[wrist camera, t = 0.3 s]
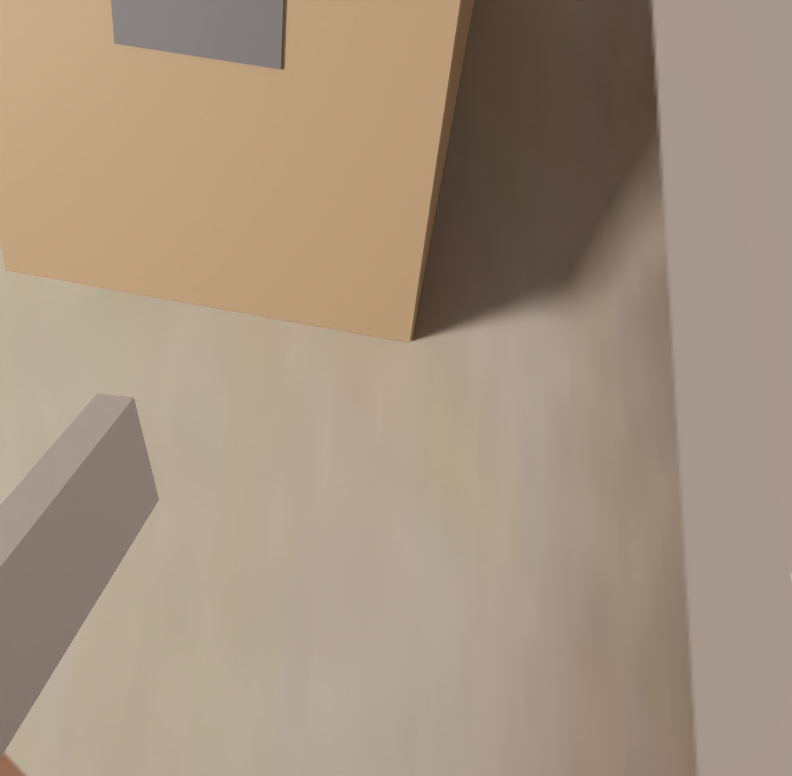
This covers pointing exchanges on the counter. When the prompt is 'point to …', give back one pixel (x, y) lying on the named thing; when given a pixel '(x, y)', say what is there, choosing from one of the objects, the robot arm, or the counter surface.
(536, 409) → the counter surface
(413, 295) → the mailer lid
